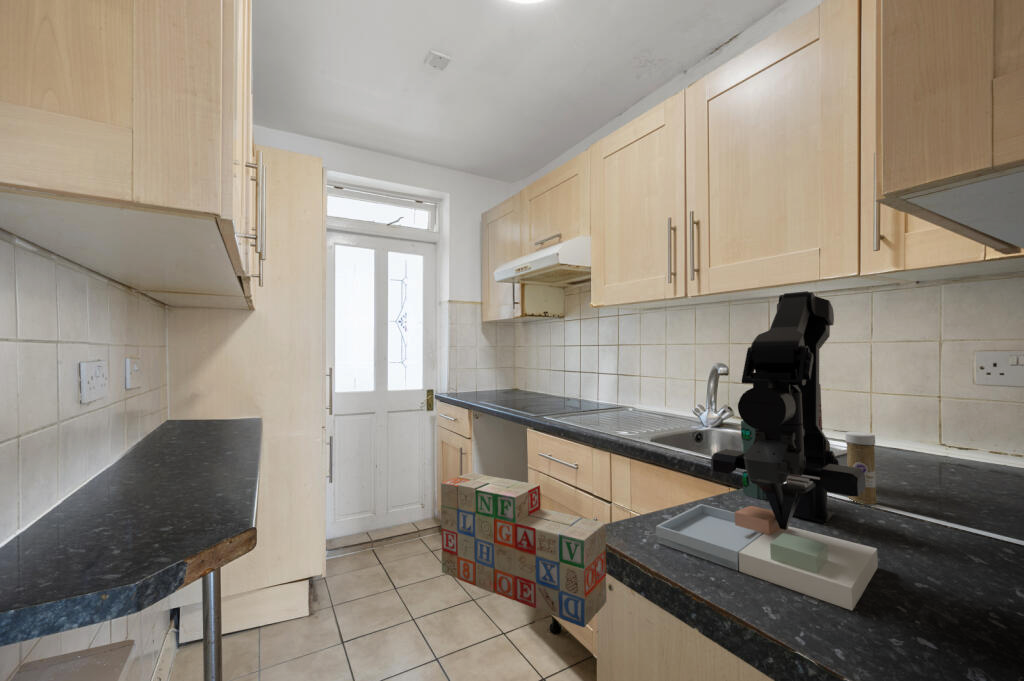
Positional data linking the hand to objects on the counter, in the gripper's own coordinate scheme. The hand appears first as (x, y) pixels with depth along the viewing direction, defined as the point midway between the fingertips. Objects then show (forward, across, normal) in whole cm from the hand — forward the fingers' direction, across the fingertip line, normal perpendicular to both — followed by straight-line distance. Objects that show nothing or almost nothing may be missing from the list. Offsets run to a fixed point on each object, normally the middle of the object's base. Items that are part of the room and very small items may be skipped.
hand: (783, 528), depth 63 cm
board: (+3, +4, -4) cm, 6 cm away
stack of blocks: (+4, -19, -36) cm, 41 cm away
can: (+3, -12, +26) cm, 29 cm away
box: (+3, -8, -4) cm, 10 cm away
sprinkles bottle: (+3, +3, +36) cm, 36 cm away
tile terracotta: (+1, -3, +1) cm, 4 cm away
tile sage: (+1, +4, -8) cm, 9 cm away
